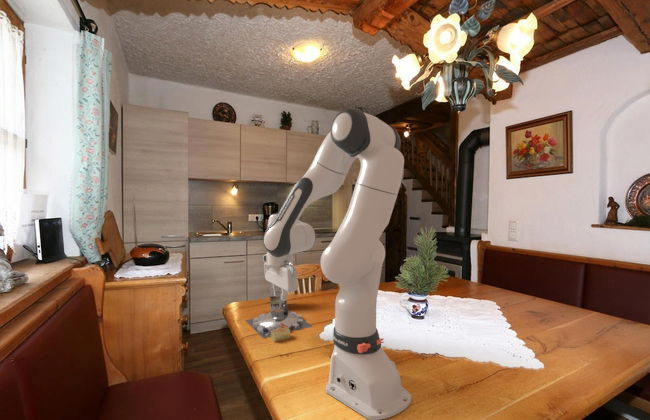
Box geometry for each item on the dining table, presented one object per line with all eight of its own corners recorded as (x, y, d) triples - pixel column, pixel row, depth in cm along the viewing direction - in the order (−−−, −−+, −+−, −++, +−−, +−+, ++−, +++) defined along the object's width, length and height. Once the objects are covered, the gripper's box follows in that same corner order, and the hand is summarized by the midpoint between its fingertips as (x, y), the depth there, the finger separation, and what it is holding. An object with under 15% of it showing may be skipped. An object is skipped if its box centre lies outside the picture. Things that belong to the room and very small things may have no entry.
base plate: (312, 328, 116) (312, 326, 116) (263, 341, 105) (263, 338, 105) (289, 312, 133) (289, 310, 133) (245, 322, 122) (245, 320, 122)
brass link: (290, 341, 106) (290, 329, 105) (274, 345, 102) (274, 333, 102) (286, 337, 108) (286, 326, 108) (270, 342, 105) (270, 330, 105)
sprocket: (310, 317, 124) (310, 304, 124) (287, 337, 106) (287, 321, 106) (270, 311, 131) (270, 299, 131) (242, 328, 113) (242, 314, 113)
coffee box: (284, 312, 133) (284, 276, 132) (269, 312, 133) (269, 276, 133) (287, 306, 142) (287, 272, 142) (273, 305, 142) (273, 271, 142)
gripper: (302, 262, 98) (302, 304, 98) (276, 254, 115) (276, 290, 115) (284, 264, 94) (285, 308, 94) (261, 255, 111) (261, 292, 112)
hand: (280, 298), depth 105 cm, fingers open, 4 cm apart
